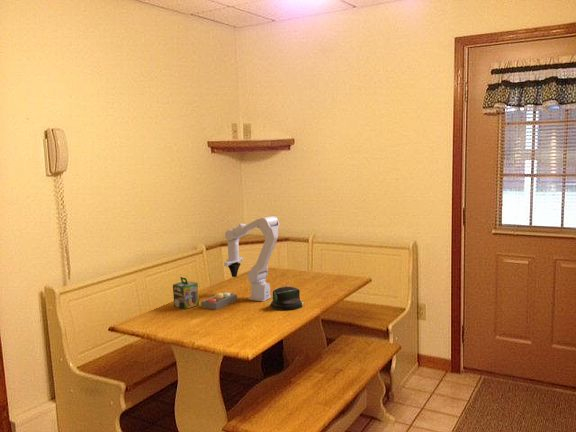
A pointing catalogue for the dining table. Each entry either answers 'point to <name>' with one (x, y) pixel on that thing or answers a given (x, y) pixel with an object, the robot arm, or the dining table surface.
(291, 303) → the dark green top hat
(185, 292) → the chalk box
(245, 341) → the dining table surface
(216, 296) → the ochre button
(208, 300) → the red button
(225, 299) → the grey compartment tray
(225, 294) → the sage button
